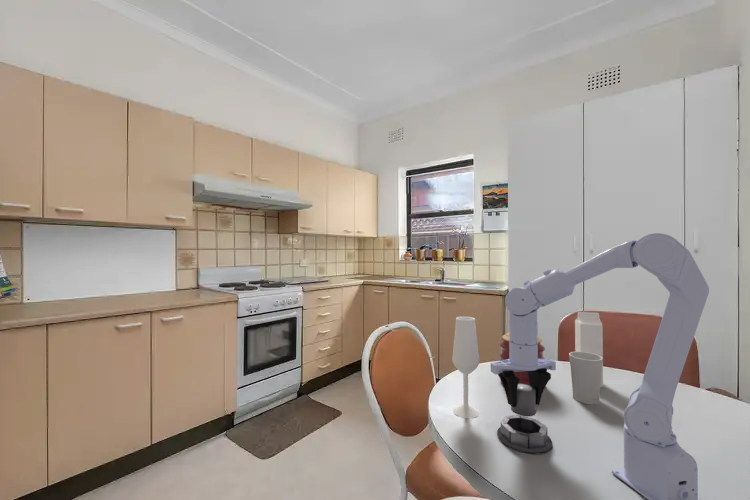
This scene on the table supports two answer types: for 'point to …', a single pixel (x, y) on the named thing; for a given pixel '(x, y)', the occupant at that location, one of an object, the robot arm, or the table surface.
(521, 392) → the cap
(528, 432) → the socket
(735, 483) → the table surface
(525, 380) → the canister
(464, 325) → the champagne flute
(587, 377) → the cup
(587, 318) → the milk
